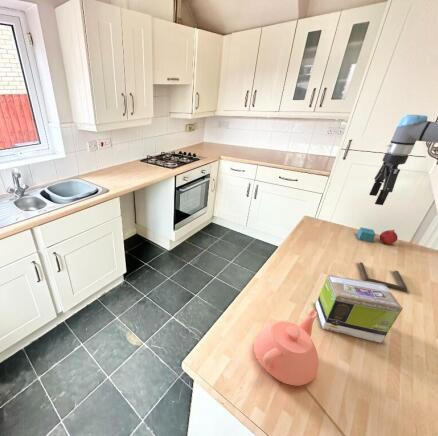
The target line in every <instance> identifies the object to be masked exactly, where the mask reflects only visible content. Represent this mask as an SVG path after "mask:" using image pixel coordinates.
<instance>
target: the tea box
mask: <svg viewBox="0 0 438 436" xmlns="http://www.w3.org/2000/svg"><path fill="white" fill-rule="evenodd" d="M315 308H316V312H317V315H318V317H319V322H320V324H321V327H322V329H323V330H328V331H331V332H335V333H339V334H344V335H348V336H352V337H354V338H355V337H356V338H359V339H363V340H368V341H372V342H376V343H383V341H384V339H386V337H387V334H388V333H389V331H391V328H392V327H393V325H394V324H395V322H396V320H397V319H398V317H399V316H400V314H401V312H402V310H403V307H402V305H401V304H400V302H398V300H397V298H396V297H395V296H394V295H393V293H392V291H391V290H390V288H389V287H387V286H386V285H385V284H380V283H374V282H369V281H364V279H363V280H362V279H357V278H350V277H346V276H345V277H344V276H339V275H333V274H327V276H326V279H325V280H324V283H323V286H322V288H321V291H320V293H319V295H318V298H317V301H316V303H315Z"/></svg>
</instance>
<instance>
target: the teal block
mask: <svg viewBox="0 0 438 436" xmlns="http://www.w3.org/2000/svg"><path fill="white" fill-rule="evenodd" d="M356 237H357V239H358V240H359V241H364V242H368V243H373V241H374V239H375V237H376V232H375V231H374V229H372V228H366V227H359V229H358V230H357V233H356Z"/></svg>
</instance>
